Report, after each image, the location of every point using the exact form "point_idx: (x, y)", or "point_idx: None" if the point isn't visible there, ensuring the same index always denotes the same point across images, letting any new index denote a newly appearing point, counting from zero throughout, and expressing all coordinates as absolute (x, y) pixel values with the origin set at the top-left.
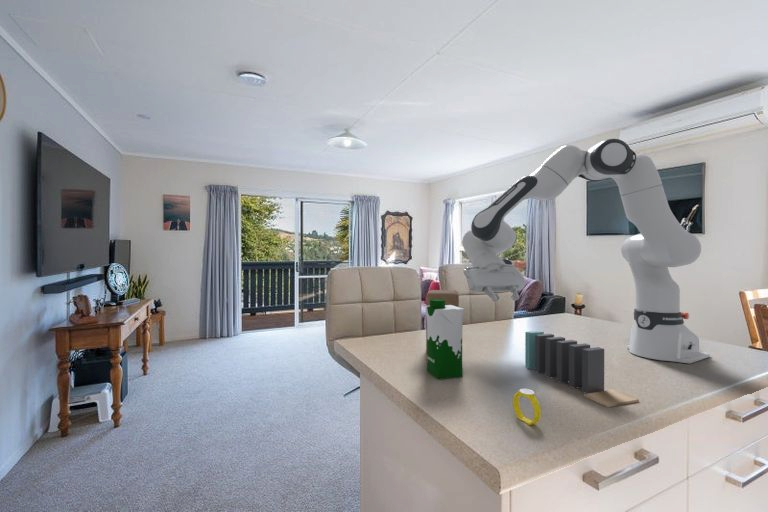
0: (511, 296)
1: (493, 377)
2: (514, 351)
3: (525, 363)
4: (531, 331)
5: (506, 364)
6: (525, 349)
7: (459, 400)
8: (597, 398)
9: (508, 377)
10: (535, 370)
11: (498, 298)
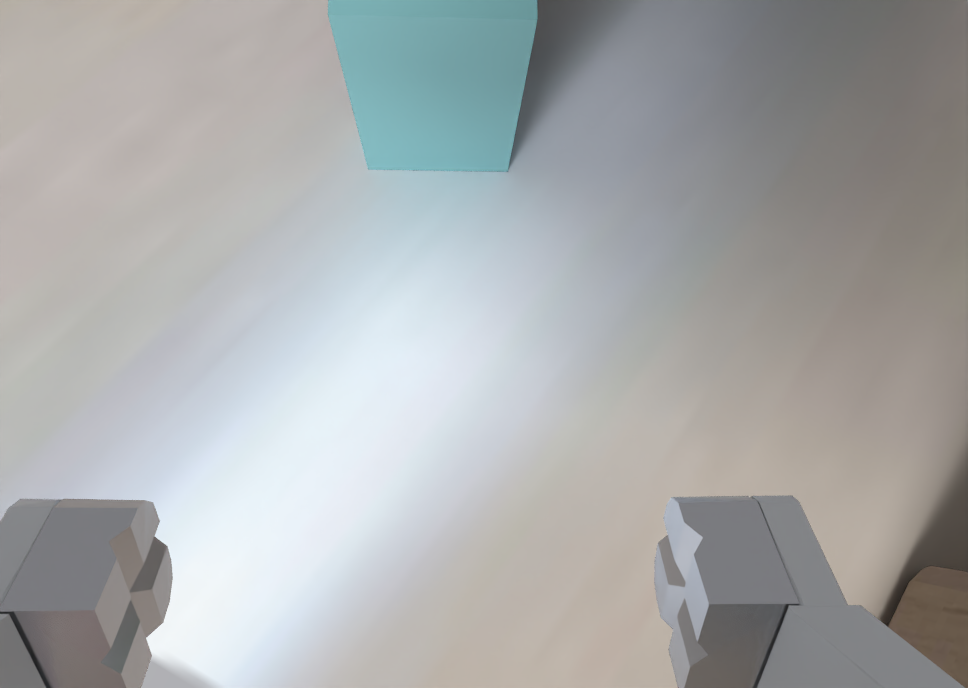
0: (130, 685)
1: (870, 70)
2: (272, 585)
3: (509, 160)
4: (450, 17)
5: (606, 274)
6: (518, 111)
7: None
8: None
9: (772, 37)
10: None
11: (695, 499)
